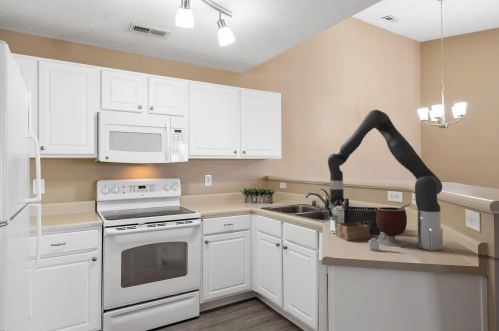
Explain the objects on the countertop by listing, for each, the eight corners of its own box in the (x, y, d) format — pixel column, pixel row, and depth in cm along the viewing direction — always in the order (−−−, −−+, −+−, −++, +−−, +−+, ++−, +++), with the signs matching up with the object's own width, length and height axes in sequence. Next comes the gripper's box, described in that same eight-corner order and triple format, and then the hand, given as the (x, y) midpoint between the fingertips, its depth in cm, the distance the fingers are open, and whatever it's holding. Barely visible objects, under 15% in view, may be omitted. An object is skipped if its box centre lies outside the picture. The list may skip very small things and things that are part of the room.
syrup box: (330, 232, 180) (329, 207, 180) (338, 231, 182) (338, 207, 183) (336, 234, 175) (335, 208, 175) (344, 233, 177) (344, 208, 177)
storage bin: (390, 228, 191) (390, 207, 191) (395, 235, 172) (395, 211, 173) (342, 227, 199) (341, 206, 199) (342, 233, 180) (341, 209, 181)
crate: (369, 239, 161) (369, 226, 161) (347, 241, 159) (347, 227, 159) (356, 234, 174) (356, 222, 174) (335, 236, 171) (335, 223, 171)
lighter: (370, 250, 140) (369, 232, 140) (368, 249, 142) (368, 232, 142) (385, 250, 141) (385, 232, 141) (383, 249, 142) (383, 231, 142)
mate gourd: (372, 243, 153) (371, 203, 153) (381, 238, 163) (381, 200, 164) (406, 248, 143) (405, 205, 143) (414, 243, 153) (413, 202, 154)
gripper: (328, 189, 174) (328, 218, 174) (351, 188, 177) (351, 217, 176) (322, 188, 181) (322, 216, 181) (344, 187, 184) (345, 215, 184)
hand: (337, 216), depth 179 cm, fingers open, 7 cm apart
